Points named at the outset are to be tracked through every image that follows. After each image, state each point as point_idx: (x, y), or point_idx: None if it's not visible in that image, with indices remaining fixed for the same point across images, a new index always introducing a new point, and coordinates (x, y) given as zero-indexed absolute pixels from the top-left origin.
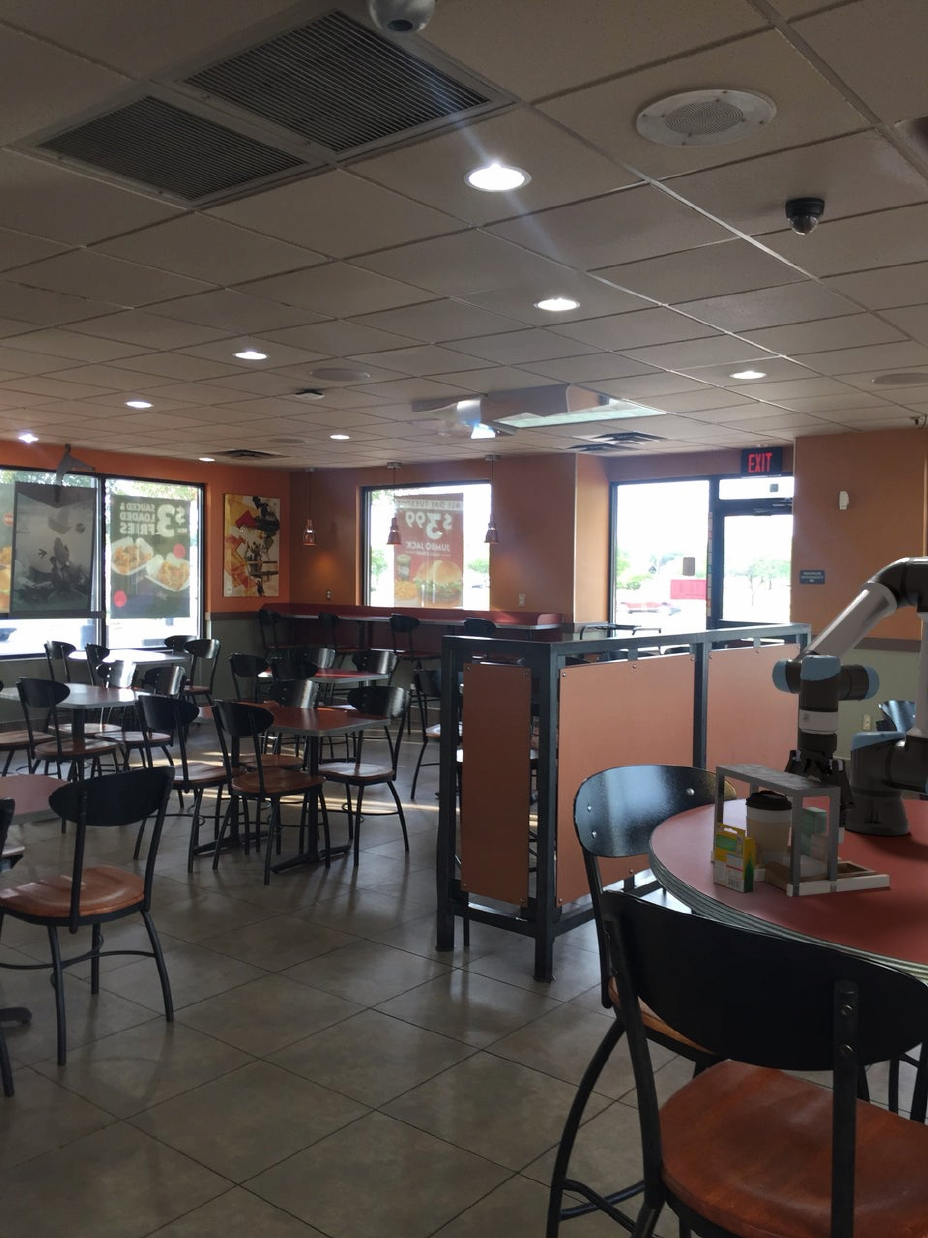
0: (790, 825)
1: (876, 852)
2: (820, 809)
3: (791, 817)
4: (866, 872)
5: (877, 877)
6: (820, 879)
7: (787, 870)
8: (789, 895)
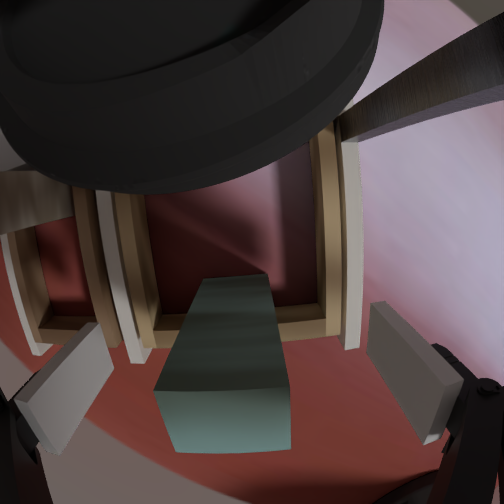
0: (372, 322)
1: (295, 473)
2: (225, 450)
3: (386, 343)
4: (25, 311)
5: (22, 322)
6: None
7: None
8: None
